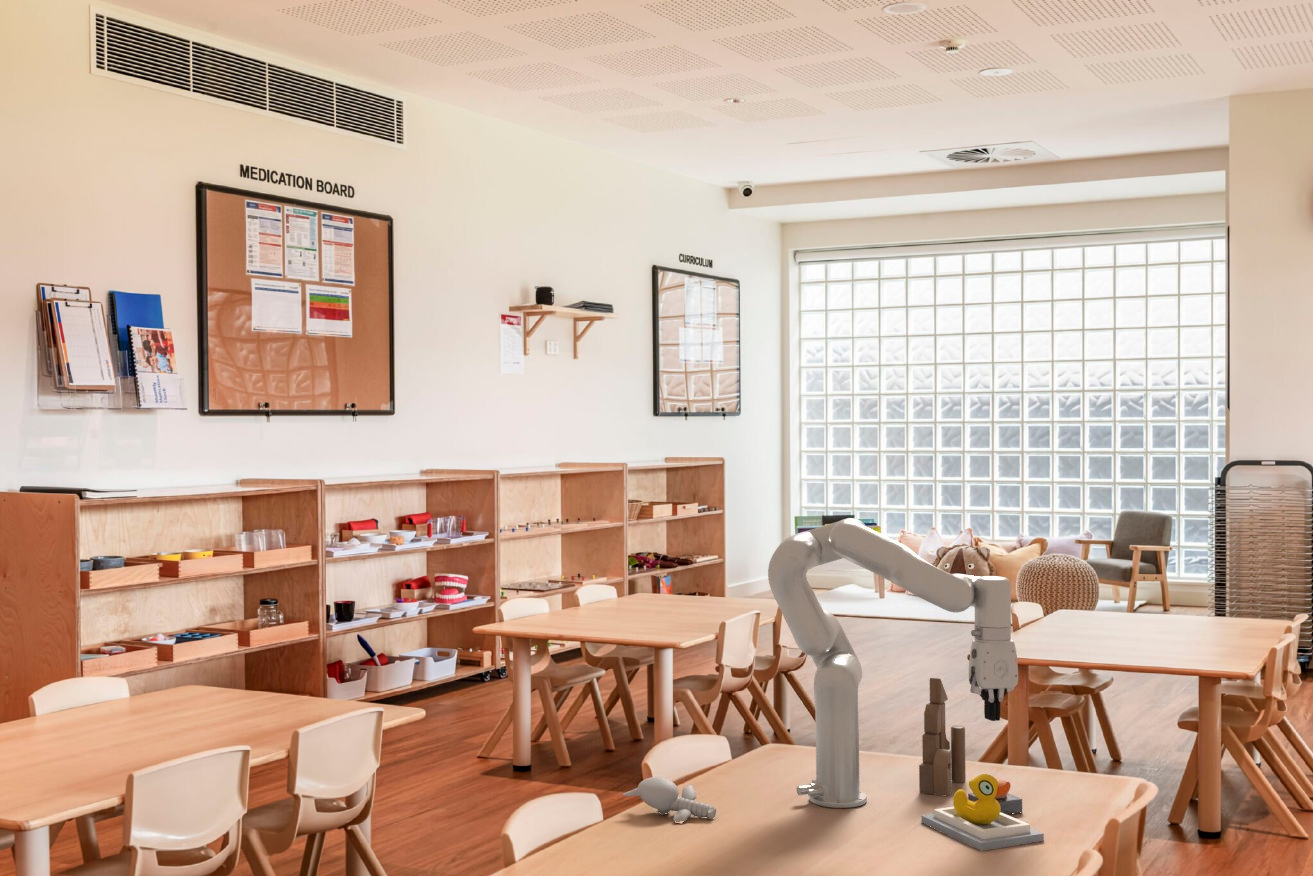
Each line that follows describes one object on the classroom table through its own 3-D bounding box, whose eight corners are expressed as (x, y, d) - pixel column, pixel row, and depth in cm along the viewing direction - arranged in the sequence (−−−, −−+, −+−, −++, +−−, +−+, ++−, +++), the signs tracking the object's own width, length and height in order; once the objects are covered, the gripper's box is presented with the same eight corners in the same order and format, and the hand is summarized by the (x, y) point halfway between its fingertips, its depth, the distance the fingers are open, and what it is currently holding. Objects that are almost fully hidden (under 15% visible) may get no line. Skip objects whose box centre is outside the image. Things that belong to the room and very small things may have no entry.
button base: (991, 817, 260) (991, 803, 261) (968, 807, 268) (968, 793, 268) (1022, 813, 264) (1022, 798, 264) (998, 803, 271) (998, 789, 271)
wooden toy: (948, 797, 276) (947, 685, 276) (919, 793, 280) (917, 682, 280) (967, 780, 290) (966, 674, 290) (939, 777, 293) (938, 671, 293)
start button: (992, 799, 262) (992, 785, 263) (978, 793, 267) (977, 779, 267) (1011, 796, 264) (1011, 782, 264) (997, 791, 269) (996, 777, 269)
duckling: (1012, 822, 252) (1011, 773, 252) (1010, 830, 247) (1009, 779, 247) (955, 817, 256) (954, 768, 256) (952, 824, 251) (951, 775, 251)
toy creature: (706, 814, 254) (616, 791, 261) (705, 843, 257) (616, 820, 263) (724, 779, 265) (638, 758, 272) (723, 807, 268) (637, 786, 274)
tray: (981, 851, 239) (981, 835, 239) (921, 822, 257) (921, 808, 257) (1043, 841, 245) (1043, 825, 245) (980, 814, 263) (980, 799, 263)
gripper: (975, 638, 259) (974, 726, 259) (1032, 634, 265) (1031, 720, 265) (953, 633, 266) (952, 718, 266) (1009, 630, 272) (1008, 713, 272)
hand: (992, 719), depth 265 cm, fingers closed
